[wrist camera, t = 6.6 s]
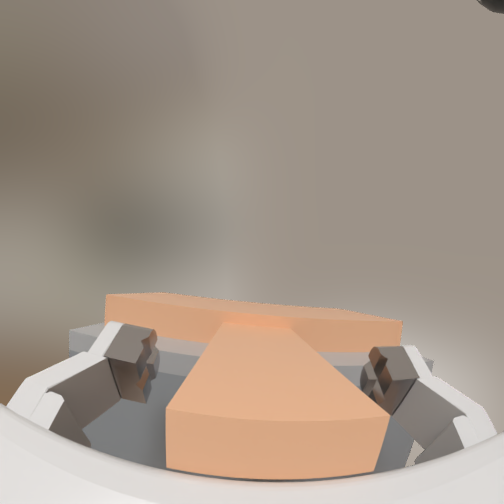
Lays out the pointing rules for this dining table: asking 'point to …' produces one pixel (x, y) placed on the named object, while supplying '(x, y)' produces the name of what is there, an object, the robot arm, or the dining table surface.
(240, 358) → the lid
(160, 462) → the crate
